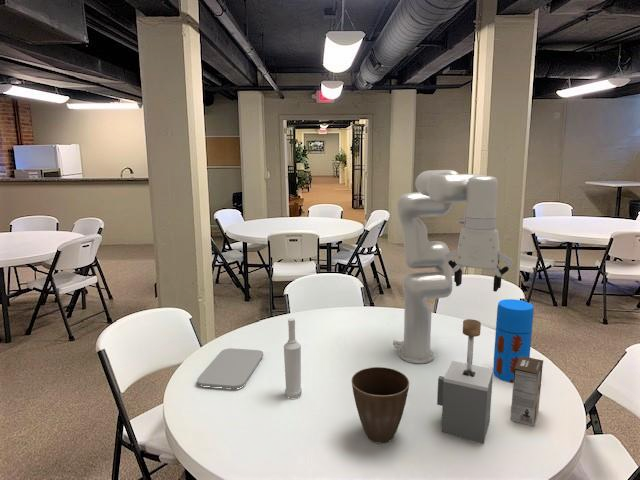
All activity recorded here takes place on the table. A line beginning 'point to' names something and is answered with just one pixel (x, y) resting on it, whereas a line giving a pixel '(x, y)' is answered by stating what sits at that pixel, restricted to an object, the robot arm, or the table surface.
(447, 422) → the block
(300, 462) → the table surface
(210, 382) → the tablet
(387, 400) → the plant pot
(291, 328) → the bottle
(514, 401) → the coffee box
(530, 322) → the thermos
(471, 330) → the plunger
